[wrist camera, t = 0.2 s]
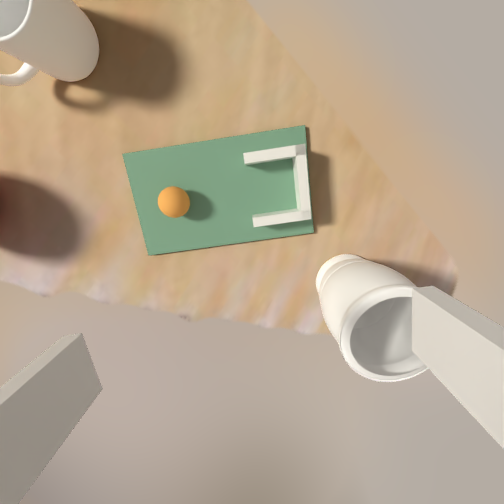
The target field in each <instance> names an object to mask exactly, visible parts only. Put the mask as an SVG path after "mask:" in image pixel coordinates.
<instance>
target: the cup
mask: <svg viewBox="0 0 504 504" xmlns="http://www.w3.org/2000/svg"><path fill="white" fill-rule="evenodd" d="M0 50H2V51H4V52H5V53H7V54H9V55H11V56H13V57H15V58H17V59H19V60H21V61H23V62H24V64H23V66H22V67H21V68H20V70H19V71H17V72H16V73H14V74H10V75H4V74H0V84H1V85H6V86H19V85H23V84H25V83H27V82H28V81H30V80H31V79H32V78H33V77H34V76H35V75H36V74H37V73H38V71H39V70H40V71H42V72H44V73H46V74H48V75H50V76H52V77H54V78H57V79H59V80H63V81H68V82H73V81H79V80H82V79H84V78H86V77H87V76H88V75H90V74H91V72H92V71H93V70H94V68H95V66H96V64H97V61H98V57H99V42H98V38H97V34H96V31H95V29H94V27H93V25H92V23H91V21H90V20H89V19H88V17H87V16H86V15H85V13H84V12H83V11H82V10H81V9H80V8H79V7H78V6H77V5H76V4H75V3H74V2H73V1H72V0H0Z"/></svg>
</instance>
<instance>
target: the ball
mask: <svg viewBox="0 0 504 504" xmlns="http://www.w3.org/2000/svg"><path fill="white" fill-rule="evenodd" d="M158 206H159V208H160V210H161V211H162V212H163V213H164V214H165V215H166V216H168V217H172V218H177V217H181V216H183V215H184V214H185V213H186V212H187V211H188V209H189V206H190V199H189V196H188V194H187V193H186V192H185V191H184V190H183V189H181V188H179V187H175V186H171V187H167V188H165V189H164V190H162V191H161V193H160V194H159V197H158Z"/></svg>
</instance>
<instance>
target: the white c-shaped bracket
mask: <svg viewBox="0 0 504 504" xmlns="http://www.w3.org/2000/svg"><path fill="white" fill-rule="evenodd" d="M243 156H244V163H245V165H251V164H257V163H264V162H270V161H277V160H283V159H290V158H292V161H293V171H294V181H295V192H296V202H297V209H290V210H283V211H276V212H269V213H262V214H255V215H253V216H252V219H253V226H254V227H259V226H266V225H273V224H280V223H287V222H295V221H302V220H309V219H311V207H310V195H309V183H308V171H307V159H306V147H305V144H299V145H293V146H286V147H280V148H273V149H267V150H260V151H254V152H247V153H243Z"/></svg>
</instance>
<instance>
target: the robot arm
mask: <svg viewBox="0 0 504 504" xmlns="http://www.w3.org/2000/svg"><path fill="white" fill-rule="evenodd" d="M412 351H413V352H414V353H415V354H416V356H417V357H418V358H419V359H420V360H421V361H422V362H423V363H424V364H425V365H426V366H427V367H428V368H429V369H430V371H431V372H432V373H433V374H434V375H435V376H436V377H437V378H438V379H439V380H440V381H441V382H442V383H443V385H444V386H445V387H446V388H447V389H448V390H449V391H450V392H451V393H452V394H453V395H454V396H455V397H456V398H457V400H458V401H459V402H460V403H461V404H462V405H463V406H464V407H465V408H466V409H467V410H468V411H469V412H470V414H471V415H472V416H473V417H474V418H475V419H476V420H477V421H478V422H479V423H480V424H481V425H482V426H483V427H484V429H485V430H486V431H487V432H488V433H489V434H490V435H491V436H492V437H493V438H494V439H495V440H496V441H497V442H498V444H499V445H500V446H501V447H502V448H503V449H504V327H503V326H501V325H500V324H498V323H496V322H494V321H493V320H491V319H489V318H488V317H486V316H484V315H482V314H481V313H479V312H477V311H476V310H474V309H472V308H470V307H469V306H467V305H465V304H464V303H462V302H460V301H458V300H457V299H455V298H453V297H452V296H450V295H448V294H446V293H445V292H443V291H441V290H440V289H438V288H436V287H434V286H427V287H419V288H412ZM101 390H102V386H101V383H100V381H99V378H98V375H97V373H96V370H95V367H94V365H93V362H92V359H91V356H90V354H89V351H88V348H87V346H86V343H85V340H84V338H83V335H82V333H80V334H73V335H66V336H63V337H62V338H60V339H59V340H58V341H57V342H56V343H54V344H53V345H52V346H51V347H49V348H48V349H47V350H46V351H44V352H43V353H42V354H41V355H40V356H38V357H37V358H36V359H35V360H33V361H32V362H31V363H30V364H28V365H27V366H26V367H25V368H24V369H22V370H21V371H20V372H19V373H17V374H16V375H15V376H14V377H12V378H11V379H10V380H9V381H7V382H6V383H5V384H4V385H2V386H1V387H0V504H19V502H20V501H21V499H22V498H23V497H24V495H25V494H26V493H27V491H28V490H29V489H30V487H31V486H32V485H33V483H34V482H35V480H36V479H37V478H38V476H39V475H40V474H41V472H42V471H43V470H44V468H45V467H46V465H47V464H48V463H49V461H50V460H51V459H52V457H53V456H54V455H55V453H56V452H57V450H58V449H59V448H60V446H61V445H62V444H63V442H64V441H65V439H66V438H67V437H68V435H69V434H70V433H71V431H72V430H73V429H74V427H75V426H76V424H77V423H78V422H79V420H80V419H81V418H82V416H83V415H84V414H85V412H86V411H87V409H88V408H89V407H90V405H91V404H92V403H93V401H94V400H95V399H96V397H97V396H98V394H99V393H100V392H101Z"/></svg>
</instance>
